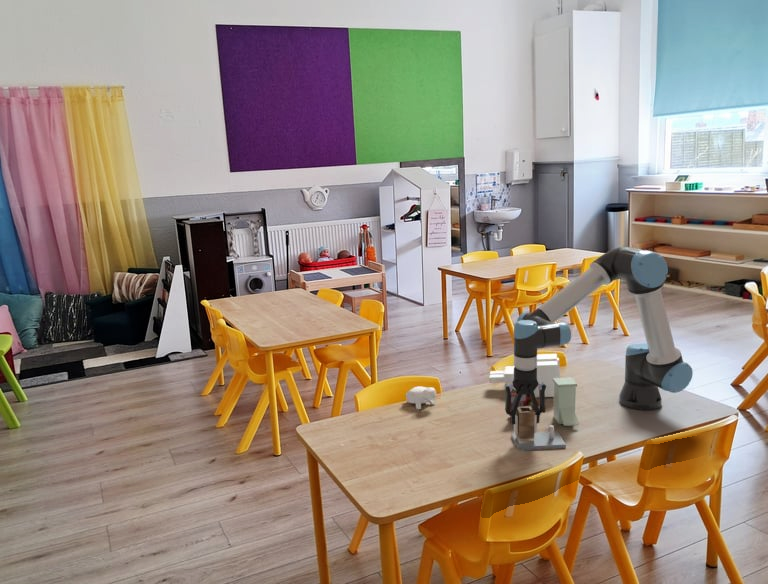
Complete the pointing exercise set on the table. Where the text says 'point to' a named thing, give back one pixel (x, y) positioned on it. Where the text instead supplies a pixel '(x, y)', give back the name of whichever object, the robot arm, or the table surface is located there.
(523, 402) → the toy fire truck
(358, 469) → the table surface
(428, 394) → the white blocky animal toy
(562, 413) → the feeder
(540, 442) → the pinboard
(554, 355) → the white voxel figure
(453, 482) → the table surface
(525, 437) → the sleeve
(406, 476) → the table surface
